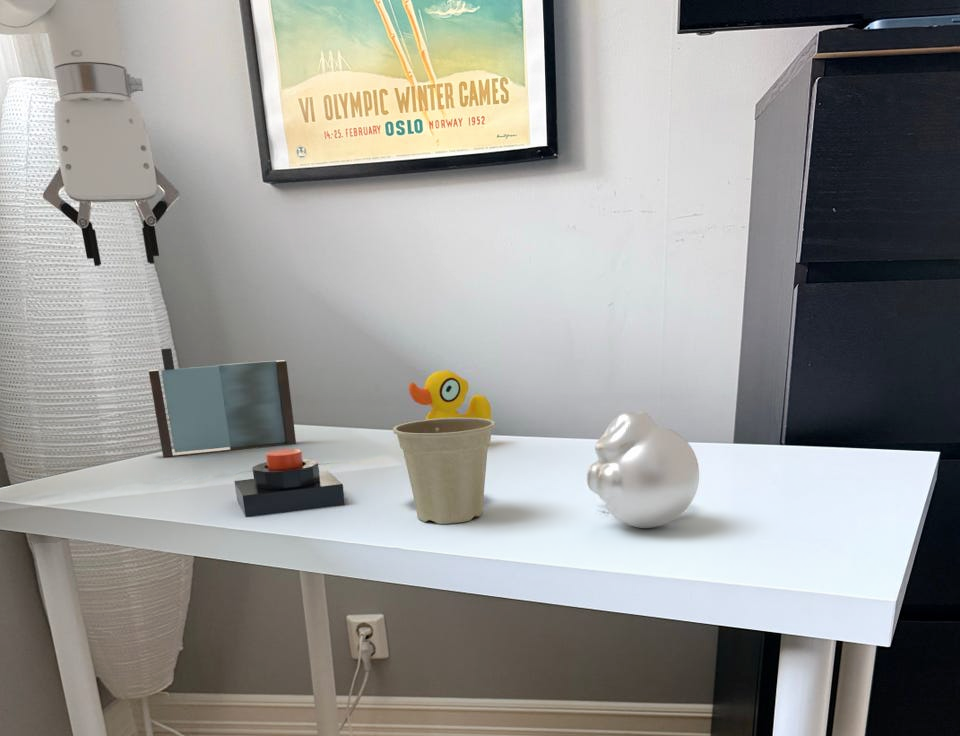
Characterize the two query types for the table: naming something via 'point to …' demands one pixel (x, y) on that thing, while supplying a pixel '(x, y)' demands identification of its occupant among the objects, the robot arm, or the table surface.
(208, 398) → the window pane
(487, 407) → the duckling
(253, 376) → the window frame
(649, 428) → the pearly white lumpy ball
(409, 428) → the flower pot
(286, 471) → the button box
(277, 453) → the button
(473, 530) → the table surface
